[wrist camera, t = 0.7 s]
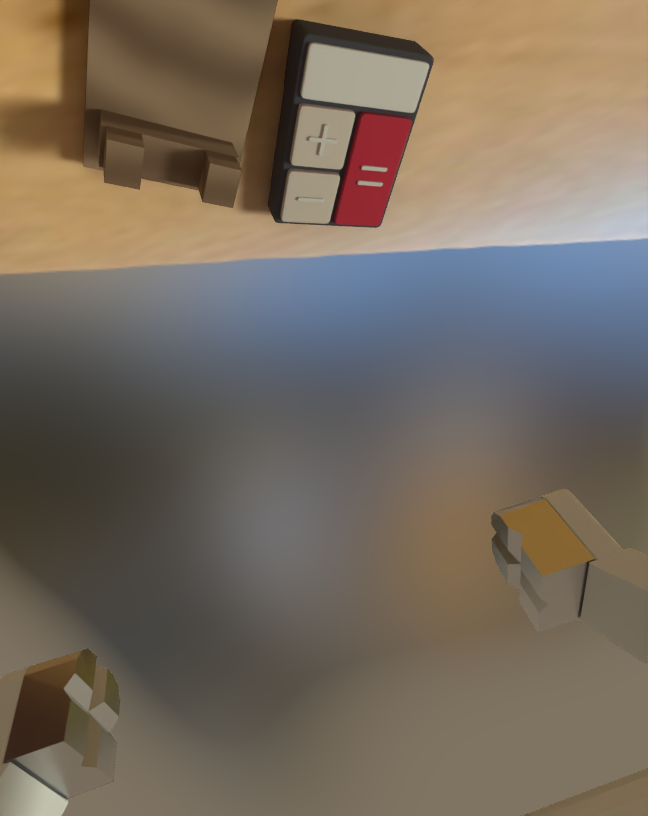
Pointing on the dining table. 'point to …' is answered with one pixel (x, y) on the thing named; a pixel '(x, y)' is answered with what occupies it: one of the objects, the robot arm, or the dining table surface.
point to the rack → (173, 90)
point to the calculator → (344, 124)
